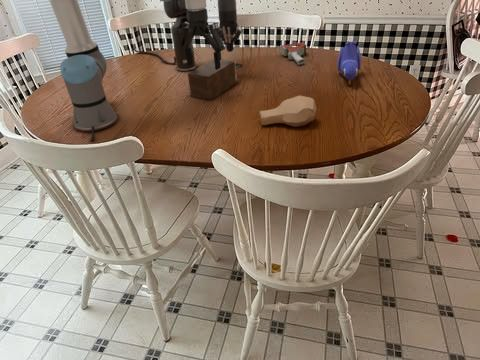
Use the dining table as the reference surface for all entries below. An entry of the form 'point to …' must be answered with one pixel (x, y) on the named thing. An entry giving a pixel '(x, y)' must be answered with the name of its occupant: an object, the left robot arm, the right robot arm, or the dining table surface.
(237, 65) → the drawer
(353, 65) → the toy
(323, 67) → the dining table surface
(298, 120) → the squash
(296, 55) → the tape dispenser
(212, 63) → the dark brown box
